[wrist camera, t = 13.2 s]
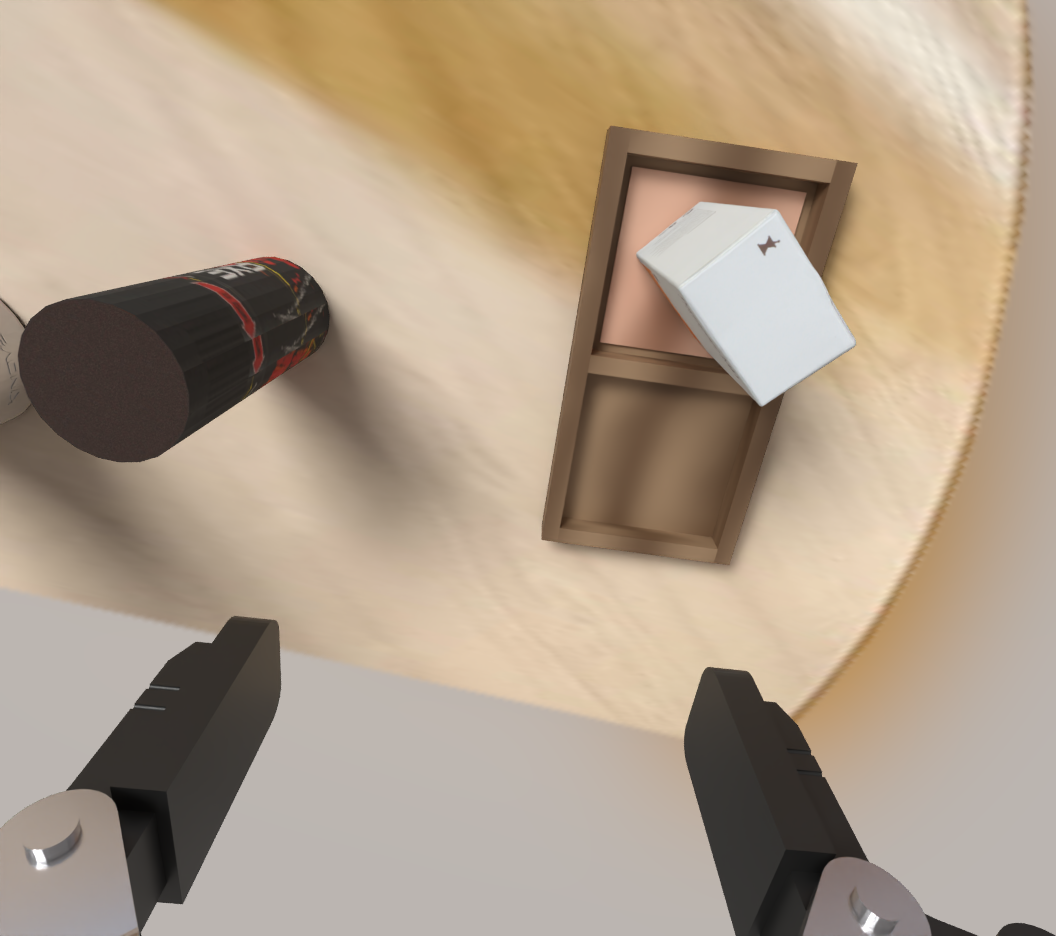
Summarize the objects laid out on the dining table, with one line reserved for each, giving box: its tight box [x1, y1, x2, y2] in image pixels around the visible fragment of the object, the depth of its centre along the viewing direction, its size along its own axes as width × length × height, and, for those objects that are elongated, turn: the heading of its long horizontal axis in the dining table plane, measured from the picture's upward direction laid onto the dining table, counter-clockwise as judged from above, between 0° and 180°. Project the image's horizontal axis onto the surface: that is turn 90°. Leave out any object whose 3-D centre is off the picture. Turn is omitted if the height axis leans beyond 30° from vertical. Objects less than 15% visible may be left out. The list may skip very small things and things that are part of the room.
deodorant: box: [18, 257, 329, 462], centre depth 28 cm, size 6×6×15 cm
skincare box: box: [636, 202, 856, 406], centre depth 28 cm, size 6×4×12 cm
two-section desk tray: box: [542, 126, 858, 565], centre depth 35 cm, size 12×23×2 cm, turn 172°
